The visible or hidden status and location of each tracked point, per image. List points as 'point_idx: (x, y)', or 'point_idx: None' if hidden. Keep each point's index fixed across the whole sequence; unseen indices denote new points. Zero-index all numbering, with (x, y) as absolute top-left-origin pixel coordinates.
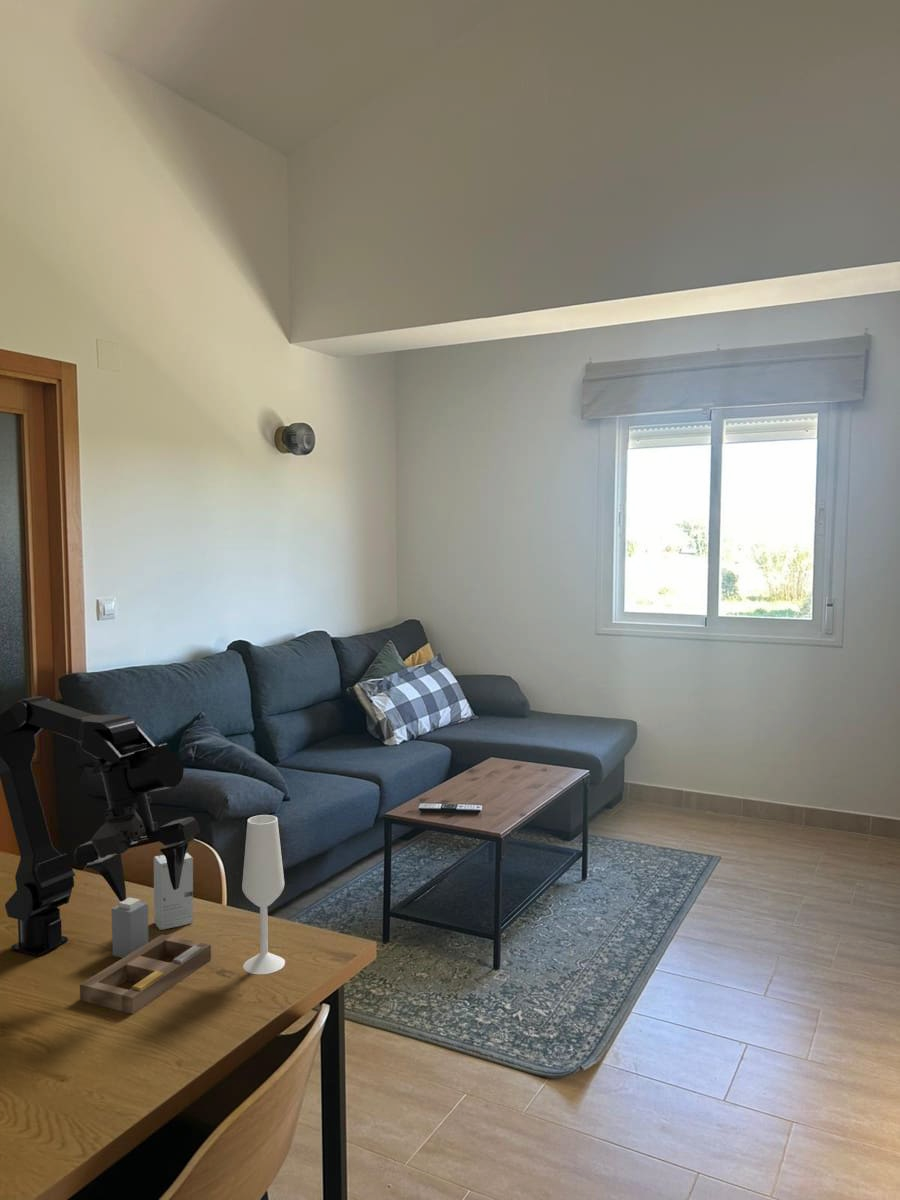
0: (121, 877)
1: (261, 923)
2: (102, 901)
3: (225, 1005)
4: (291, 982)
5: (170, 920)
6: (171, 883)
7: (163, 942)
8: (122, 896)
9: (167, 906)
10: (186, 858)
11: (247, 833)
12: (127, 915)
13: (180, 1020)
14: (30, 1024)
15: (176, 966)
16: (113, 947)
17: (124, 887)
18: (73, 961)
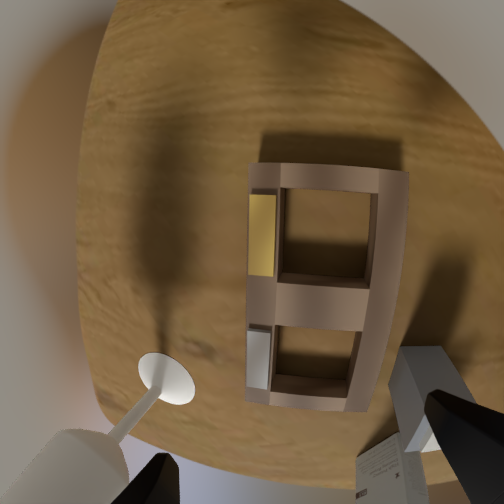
0: (467, 475)
1: (127, 417)
2: None
3: (134, 255)
4: (106, 337)
5: (384, 450)
6: (157, 472)
7: (348, 392)
8: (435, 408)
9: (391, 466)
10: None
11: None
12: None
13: (165, 186)
14: (411, 80)
15: (250, 314)
16: (444, 354)
17: (443, 446)
18: (491, 301)
